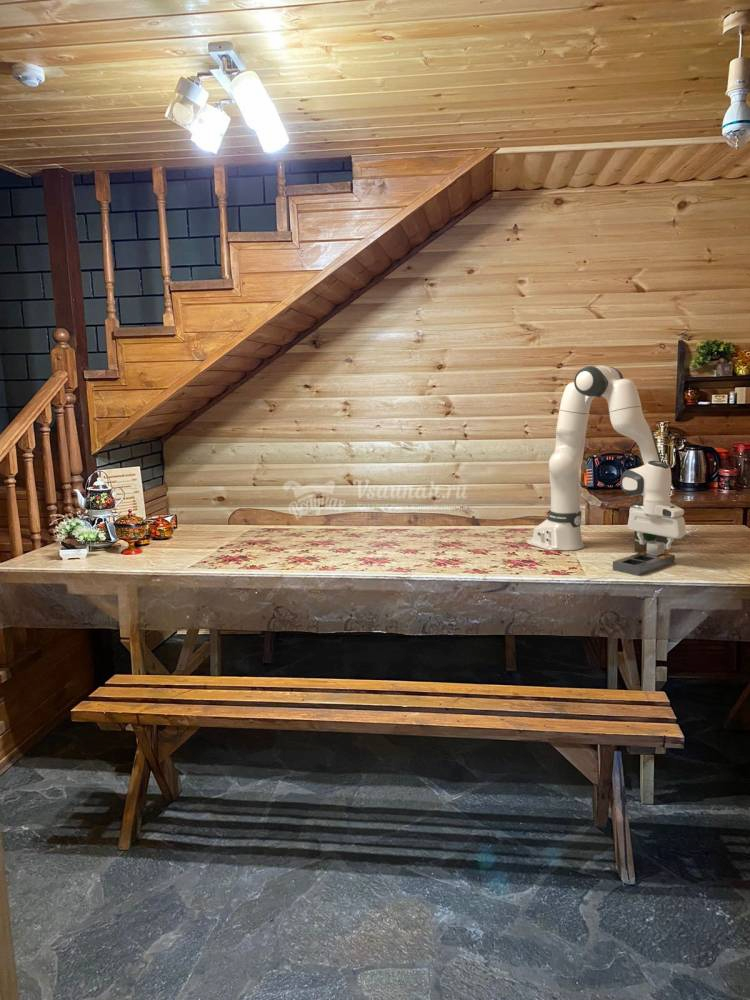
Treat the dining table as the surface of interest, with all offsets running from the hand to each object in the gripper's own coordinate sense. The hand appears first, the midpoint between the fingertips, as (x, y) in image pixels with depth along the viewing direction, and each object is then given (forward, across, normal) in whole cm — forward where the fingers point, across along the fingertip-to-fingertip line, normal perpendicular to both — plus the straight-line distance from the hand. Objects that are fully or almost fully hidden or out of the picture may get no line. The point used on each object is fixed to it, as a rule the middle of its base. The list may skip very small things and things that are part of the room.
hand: (654, 546), depth 257 cm
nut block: (+6, 0, 0) cm, 6 cm away
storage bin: (+7, -18, +30) cm, 36 cm away
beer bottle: (+7, -12, +13) cm, 19 cm away
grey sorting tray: (+6, 0, -7) cm, 9 cm away
